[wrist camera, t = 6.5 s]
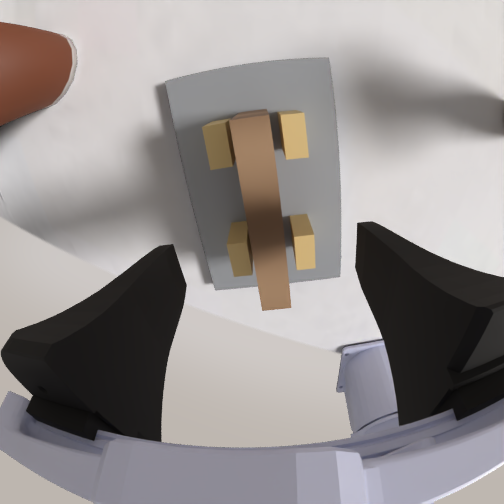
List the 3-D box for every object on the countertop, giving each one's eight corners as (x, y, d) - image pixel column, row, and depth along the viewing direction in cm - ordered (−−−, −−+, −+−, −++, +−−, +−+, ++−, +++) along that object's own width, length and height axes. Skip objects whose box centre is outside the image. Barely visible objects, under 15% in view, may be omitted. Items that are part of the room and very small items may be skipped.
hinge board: (337, 269, 22) (349, 302, 19) (216, 282, 23) (209, 316, 20) (325, 59, 14) (342, 50, 11) (169, 81, 15) (147, 79, 12)
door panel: (284, 251, 20) (291, 307, 15) (262, 253, 21) (262, 310, 15) (266, 108, 15) (269, 114, 10) (239, 112, 15) (229, 120, 10)
